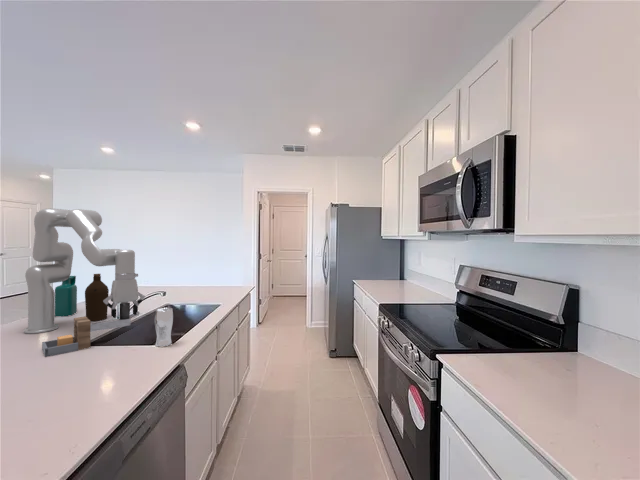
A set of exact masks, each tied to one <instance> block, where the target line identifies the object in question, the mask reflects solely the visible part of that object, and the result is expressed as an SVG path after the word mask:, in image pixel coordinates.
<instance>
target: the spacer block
mask: <svg viewBox="0 0 640 480" xmlns="http://www.w3.org/2000/svg"><path fill="white" fill-rule="evenodd" d="M73 337H74V335H72V334H65V335H62V336H57V337H56V338H57V339H56V340H57V346H62V345H67V344H72V343H73Z"/></svg>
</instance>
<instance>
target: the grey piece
mask: <svg viewBox="0 0 640 480" xmlns="http://www.w3.org/2000/svg"><path fill="white" fill-rule="evenodd" d="M118 304H119V318H117V319H116V318H114V319H110V320H101V321H94V322H91V329H90V333H93V332H99V331H104V330H110V329H116V328H122V327H128V326H131V325H132V324H131V322H132V321H131V312H130V311H131V309H130V308H131V302H124V303H118Z"/></svg>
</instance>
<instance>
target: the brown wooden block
mask: <svg viewBox="0 0 640 480" xmlns="http://www.w3.org/2000/svg"><path fill="white" fill-rule="evenodd" d="M91 323H92V321H90V320H89V319H88V318H87V317H86V315H85V316H78V317H74V318H73V337H74V343H77V342H78V351H79V350H85V349H84V348H86V349H90V348H91V332H90V329H91ZM89 347H90V348H89Z"/></svg>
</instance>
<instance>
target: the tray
mask: <svg viewBox="0 0 640 480" xmlns="http://www.w3.org/2000/svg"><path fill="white" fill-rule="evenodd" d="M41 350H42V353H43V356H44V357H45V358H47V357H53V356H58V355H61V354H68V353H72V352H76V351H77V352H78V351H79V350H78V342H77V343H74V336H73V343H72V344H67V345H62V346H57V339H52V340H47V341H42V343H41Z"/></svg>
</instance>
